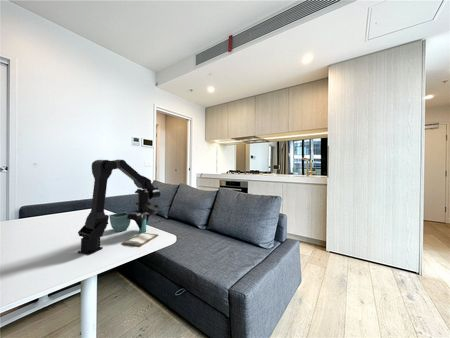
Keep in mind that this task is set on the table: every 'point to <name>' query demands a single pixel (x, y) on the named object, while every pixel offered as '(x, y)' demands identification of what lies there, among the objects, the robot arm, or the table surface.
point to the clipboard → (140, 239)
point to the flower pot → (119, 221)
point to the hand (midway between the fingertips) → (142, 228)
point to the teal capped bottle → (143, 225)
